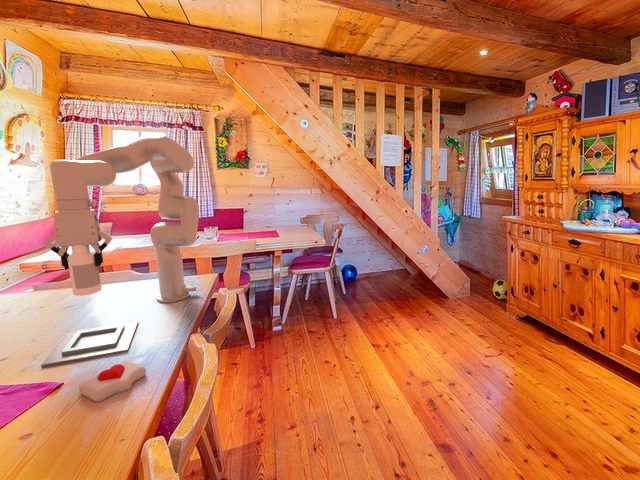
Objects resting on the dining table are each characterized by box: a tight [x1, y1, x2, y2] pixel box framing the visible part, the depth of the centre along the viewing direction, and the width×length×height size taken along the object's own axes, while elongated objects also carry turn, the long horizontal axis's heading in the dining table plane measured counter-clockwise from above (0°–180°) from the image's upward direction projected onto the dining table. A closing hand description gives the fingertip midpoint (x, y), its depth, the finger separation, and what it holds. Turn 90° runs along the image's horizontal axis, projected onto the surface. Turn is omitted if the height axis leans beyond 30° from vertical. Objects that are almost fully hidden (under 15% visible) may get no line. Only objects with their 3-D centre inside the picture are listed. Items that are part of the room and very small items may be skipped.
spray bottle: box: [67, 245, 102, 297], centre depth 92 cm, size 7×7×18 cm
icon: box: [78, 360, 147, 403], centre depth 77 cm, size 12×4×10 cm
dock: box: [40, 320, 139, 368], centre depth 97 cm, size 20×20×2 cm
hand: (83, 266), depth 93 cm, fingers closed on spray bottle, 6 cm apart
